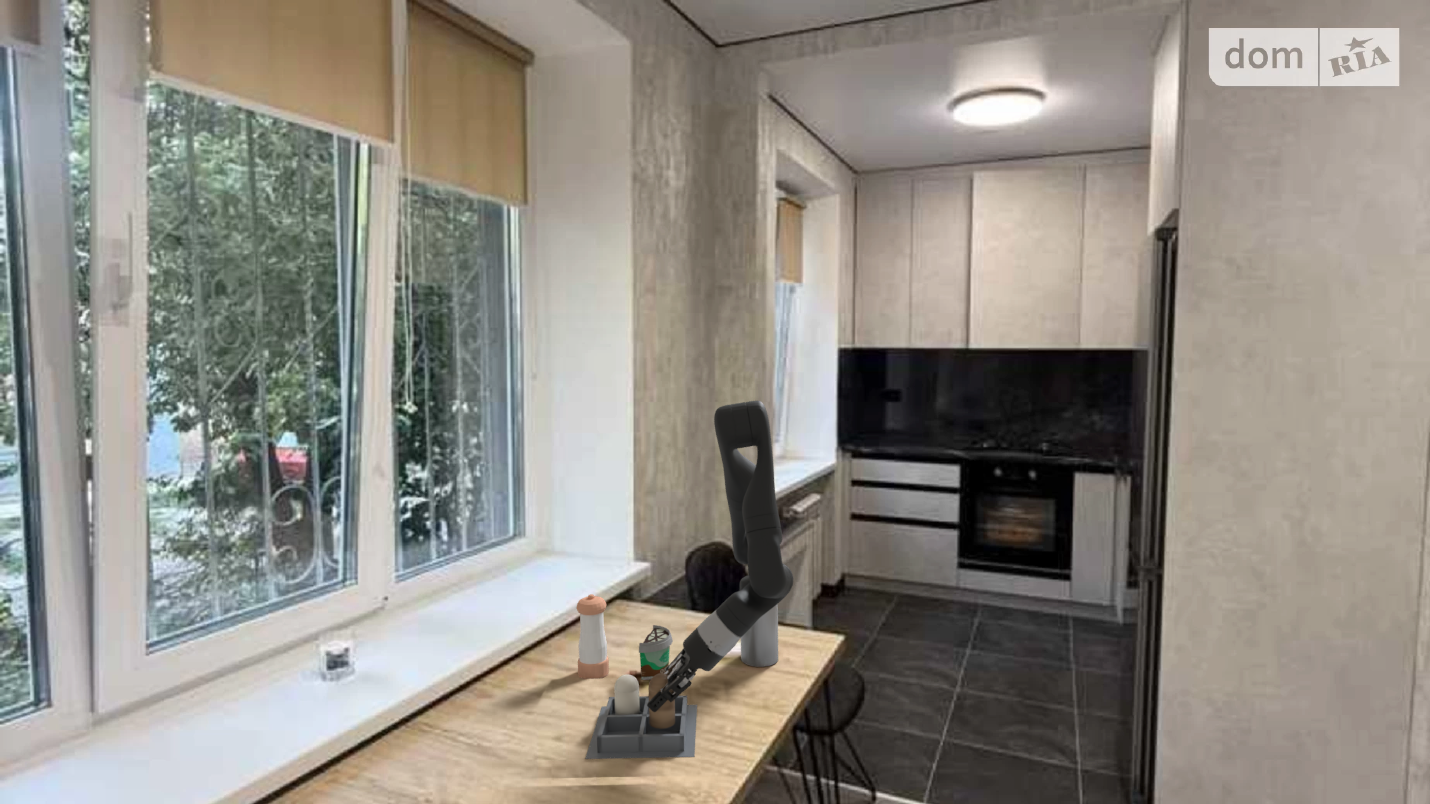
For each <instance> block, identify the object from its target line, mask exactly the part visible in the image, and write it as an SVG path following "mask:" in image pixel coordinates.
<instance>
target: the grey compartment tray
mask: <svg viewBox="0 0 1430 804" xmlns="http://www.w3.org/2000/svg"><path fill="white" fill-rule="evenodd" d="M648 702H649V695H646V696H644V695H641V696H640V695H639V703H640V714H637V715H615V696H609V697H608V700H607V703H606V706H605V705H604V706H603V705H602V706H601V708H600V710H599V713H598V717H597V720H596V724H595V726H594V729H593V732H592V737H591V740H590V743H589V745H588V749H587V752H586V755H585V758H584V759H585V760H593V759H594V760H595V759H596V760H598V759H599V760H603V759H607V760H608V759H653V758H657V759H658V758H660V759H661V758H695V754H696V752H695V751H696V739H697V738H696V732H697V716H698V713H697V712H698V704H688V695H679V696H678V697H677V698H676V699H675V724H674V725H673V726H671V727H668V728H663V729H659V728H654V727H652V726H651V725H650V724H649V708H648V706H647V704H648Z"/></svg>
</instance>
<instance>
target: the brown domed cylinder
mask: <svg viewBox="0 0 1430 804" xmlns="http://www.w3.org/2000/svg"><path fill="white" fill-rule="evenodd" d="M668 676H669V675H667V674H663V673H660V674H657V675H655V676H653V677H652V679H649V683H648V696H649V701H650V700H651V699H652V698H653V697H654V696H655V695H656V694H657V693H658V692H659V691H660V689H661V688H662V687H663V686H664V685H665V683H666V682H667V677H668ZM672 691H673V690H672V689H670V690H669V692H670V693H671V692H672ZM649 724H650V725H651V726H652V727H654V728H659V729H663V728H668V727H671V726H673V725H674V724H675V699H674V700H673V701H672V702H670V701H669V700H667V701H666V702H665V703H664V704H663V705H662V706H661V707H660V708H659V709H658V710H657V711H656V712H653V711H652V710H651V709H650V708H649Z"/></svg>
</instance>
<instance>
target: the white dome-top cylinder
mask: <svg viewBox="0 0 1430 804" xmlns="http://www.w3.org/2000/svg"><path fill="white" fill-rule="evenodd" d="M613 691H614V697H615V715H637V714H640V703H639V696H640V685H639V680H638V679H637V678H636V677H635V676H634V675H633V674H632V675H631V674H629V673H627V674H623V675H622V674H621V676H619V677H618V678H617V679H616V680H615V682H614V690H613Z"/></svg>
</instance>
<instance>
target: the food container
mask: <svg viewBox="0 0 1430 804" xmlns="http://www.w3.org/2000/svg"><path fill="white" fill-rule="evenodd" d="M638 644H639V645H638V653H639V661H640V664H639V665H640V677H641V680H643V681H644V680H645V681H646V680H649V681H650V680H651V679H652V677H653V676H655V675H657V674H660V673H663V674H664V673H665V672H666V671H665V669H666V667H668V666H669V665H670V647H671V646H672V644H673V635H672V633H671V631H670V629H668V628H667V627H665V626H662V625H656V624H653V625H652V630H651V632H650V633H649V634H647V636H646V637H645V639H644V641H643V642H638Z"/></svg>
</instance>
